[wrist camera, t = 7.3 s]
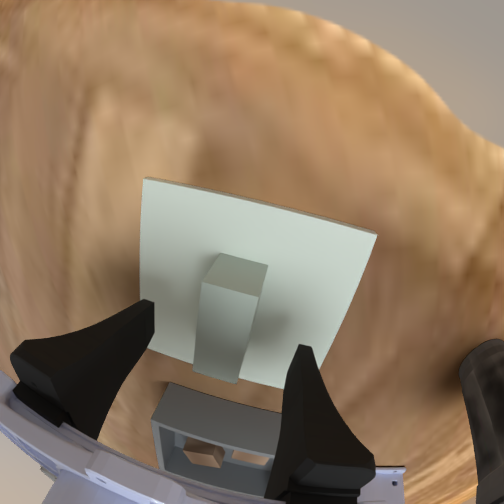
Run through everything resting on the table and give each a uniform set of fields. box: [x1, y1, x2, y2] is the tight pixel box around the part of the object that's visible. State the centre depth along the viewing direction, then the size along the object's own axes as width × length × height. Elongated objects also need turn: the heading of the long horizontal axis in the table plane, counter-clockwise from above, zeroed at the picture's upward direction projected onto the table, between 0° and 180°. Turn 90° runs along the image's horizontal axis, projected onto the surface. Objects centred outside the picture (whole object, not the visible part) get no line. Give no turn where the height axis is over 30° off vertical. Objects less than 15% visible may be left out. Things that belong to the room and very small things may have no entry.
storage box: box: [151, 382, 282, 498], centre depth 22 cm, size 12×12×4 cm
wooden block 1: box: [183, 437, 225, 468], centre depth 23 cm, size 3×3×2 cm
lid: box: [140, 177, 377, 389], centre depth 16 cm, size 12×12×4 cm
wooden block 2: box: [231, 450, 269, 465], centre depth 21 cm, size 3×3×2 cm
